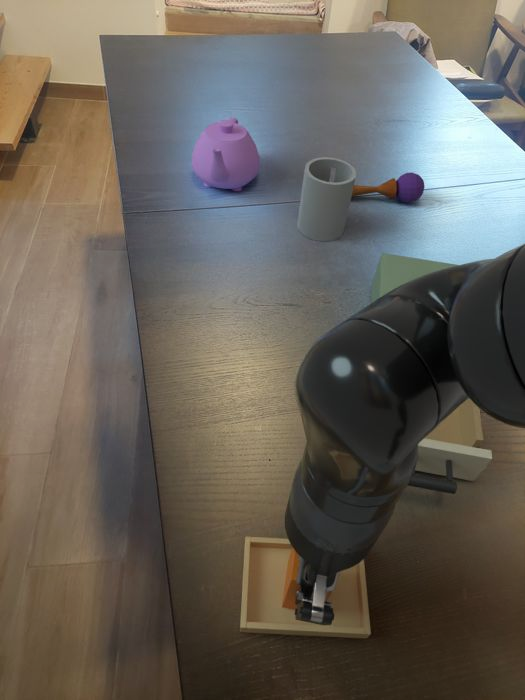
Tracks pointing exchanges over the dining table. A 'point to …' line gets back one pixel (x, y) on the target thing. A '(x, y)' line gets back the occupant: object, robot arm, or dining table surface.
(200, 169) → the teapot
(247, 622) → the tray
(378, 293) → the cabinet
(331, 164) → the cup
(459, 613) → the dining table surface
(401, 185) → the kendama
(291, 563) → the block
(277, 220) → the dining table surface
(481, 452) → the drawer
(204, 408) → the dining table surface
